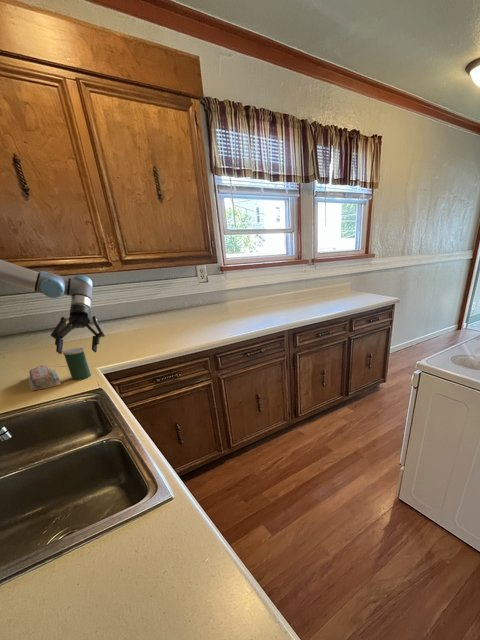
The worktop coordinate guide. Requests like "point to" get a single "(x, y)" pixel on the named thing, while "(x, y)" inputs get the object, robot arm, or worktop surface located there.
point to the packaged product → (42, 378)
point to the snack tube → (77, 363)
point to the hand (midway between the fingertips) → (76, 351)
